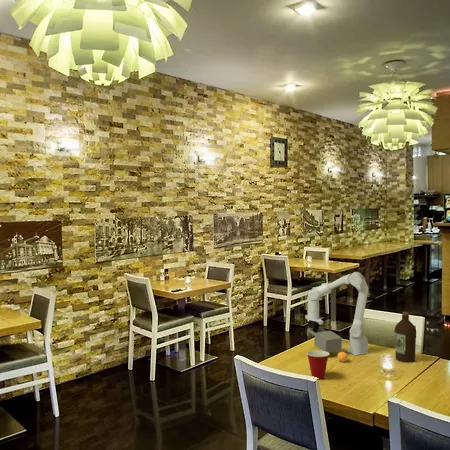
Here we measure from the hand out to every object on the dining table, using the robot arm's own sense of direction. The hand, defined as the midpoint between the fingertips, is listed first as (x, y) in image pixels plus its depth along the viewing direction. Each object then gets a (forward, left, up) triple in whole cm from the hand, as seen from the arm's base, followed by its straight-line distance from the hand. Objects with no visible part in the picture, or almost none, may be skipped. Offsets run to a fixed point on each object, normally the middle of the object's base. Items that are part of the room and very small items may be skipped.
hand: (314, 334), depth 252 cm
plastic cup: (+24, +37, -8) cm, 45 cm away
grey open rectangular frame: (0, +8, -4) cm, 9 cm away
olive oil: (-31, +37, -8) cm, 49 cm away
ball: (0, +25, -6) cm, 26 cm away
